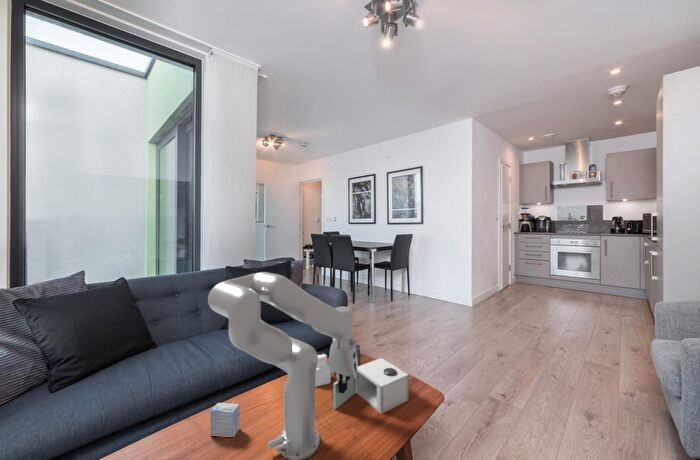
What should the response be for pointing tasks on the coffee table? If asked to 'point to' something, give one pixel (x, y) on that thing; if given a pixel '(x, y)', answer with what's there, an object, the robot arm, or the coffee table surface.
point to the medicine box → (225, 419)
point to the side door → (341, 398)
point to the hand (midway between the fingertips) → (342, 391)
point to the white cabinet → (382, 384)
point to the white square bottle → (322, 370)
